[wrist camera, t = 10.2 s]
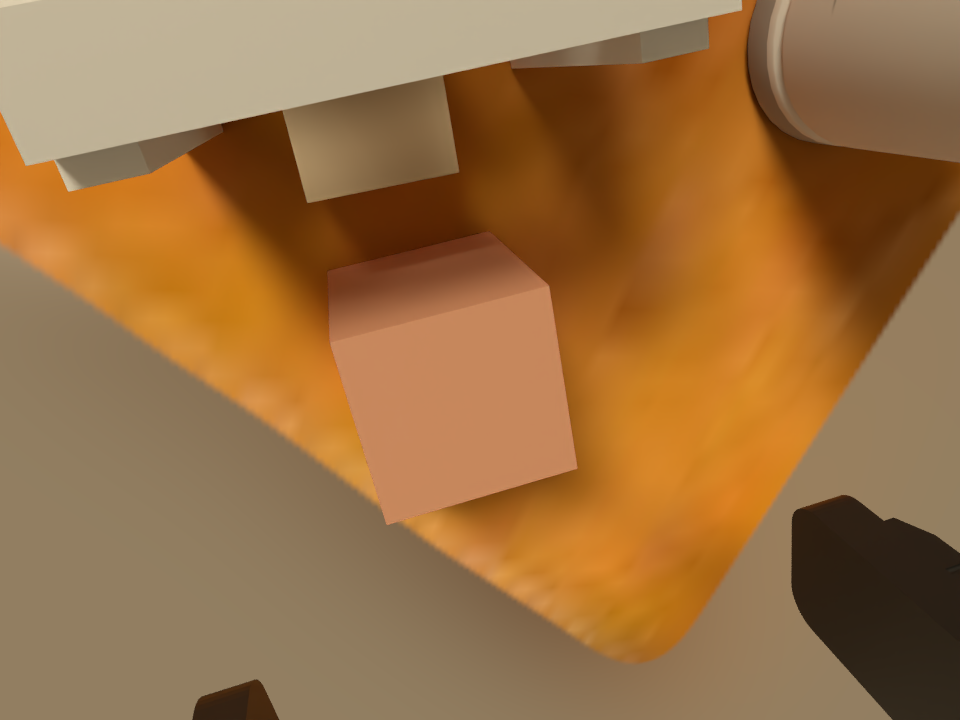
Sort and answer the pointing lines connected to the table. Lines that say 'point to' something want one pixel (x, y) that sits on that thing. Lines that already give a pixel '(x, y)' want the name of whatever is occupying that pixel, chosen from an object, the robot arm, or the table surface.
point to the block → (450, 373)
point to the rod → (373, 139)
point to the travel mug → (861, 73)
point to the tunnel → (278, 62)
